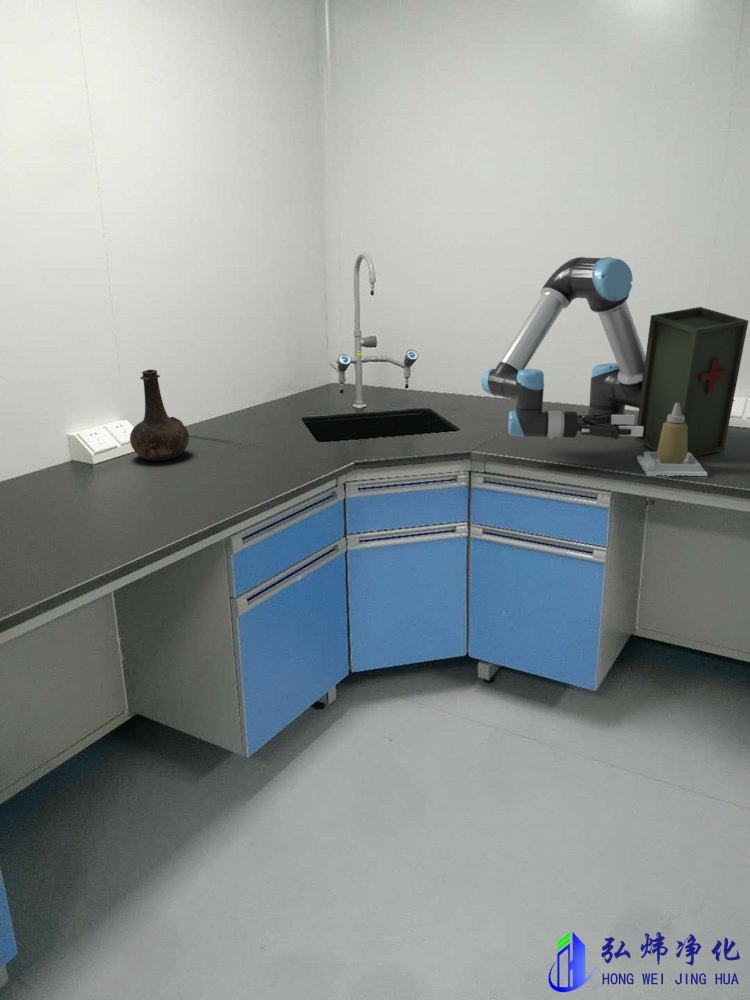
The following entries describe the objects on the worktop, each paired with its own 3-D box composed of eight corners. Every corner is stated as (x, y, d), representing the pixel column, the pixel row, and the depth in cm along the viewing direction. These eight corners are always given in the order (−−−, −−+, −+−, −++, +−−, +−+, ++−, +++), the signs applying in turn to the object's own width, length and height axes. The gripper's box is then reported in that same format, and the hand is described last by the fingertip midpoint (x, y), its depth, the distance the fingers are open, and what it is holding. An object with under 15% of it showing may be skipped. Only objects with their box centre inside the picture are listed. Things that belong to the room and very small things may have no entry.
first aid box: (675, 462, 226) (696, 330, 207) (635, 440, 241) (651, 315, 222) (723, 449, 231) (748, 320, 212) (681, 429, 247) (700, 306, 228)
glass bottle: (201, 455, 242) (192, 368, 233) (153, 469, 230) (141, 377, 221) (169, 446, 254) (159, 363, 244) (122, 459, 241) (109, 371, 232)
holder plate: (637, 459, 227) (638, 446, 226) (693, 460, 225) (694, 447, 223) (647, 475, 212) (648, 461, 211) (706, 477, 210) (708, 462, 209)
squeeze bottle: (690, 463, 218) (697, 402, 212) (679, 470, 213) (686, 407, 207) (663, 458, 223) (669, 398, 217) (651, 464, 218) (657, 403, 212)
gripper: (558, 426, 232) (629, 427, 229) (565, 448, 209) (645, 449, 206) (559, 402, 229) (631, 403, 226) (567, 422, 206) (648, 423, 203)
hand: (638, 425), depth 216 cm, fingers open, 13 cm apart
